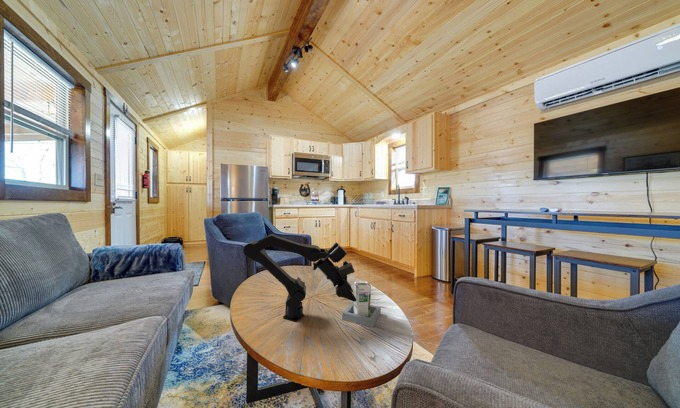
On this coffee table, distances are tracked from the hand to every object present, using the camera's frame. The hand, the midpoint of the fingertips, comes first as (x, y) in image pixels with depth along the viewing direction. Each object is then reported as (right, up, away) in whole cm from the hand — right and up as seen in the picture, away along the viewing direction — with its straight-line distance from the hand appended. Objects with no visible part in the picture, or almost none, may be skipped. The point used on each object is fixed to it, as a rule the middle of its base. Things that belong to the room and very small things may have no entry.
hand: (354, 296), depth 105 cm
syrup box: (+3, -9, +1) cm, 10 cm away
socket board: (+3, -9, +1) cm, 10 cm away
